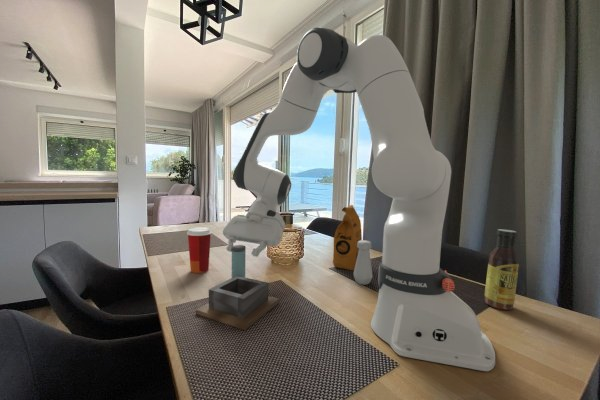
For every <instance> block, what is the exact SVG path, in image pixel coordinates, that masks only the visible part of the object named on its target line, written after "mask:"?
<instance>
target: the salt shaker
mask: <svg viewBox="0 0 600 400" xmlns="http://www.w3.org/2000/svg"><path fill="white" fill-rule="evenodd" d="M357 248H359V252H358V256H357V261H356V265H355V269H354V270H353V278H354V280H355V282H356V284H359V285H363V286H364V285H365V286H366V285H369V284H370V283H371V281H372V279H373V269H372V268H373V267H372V261H371V260H372V259H371V253H370V250H371V249H372V242H371V241H370V240H365V239H362V240H360V241H358V243H357Z"/></svg>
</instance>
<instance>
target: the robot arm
mask: <svg viewBox="0 0 600 400" xmlns="http://www.w3.org/2000/svg"><path fill="white" fill-rule="evenodd" d="M331 90H332V91H333V92H334V93H336V94H352V93H353V94H354V93H356V94H357V96H358V101H359V103H360V105H361V108H362V111H363V115H364V117H365V120H366V123H367V125H368V130H369V135H370V139H371V140H370V141H371V148H372V155H373V161H372V166H371V177H372V181H373V183H374V185H375V187H376V188H377V190H379V191H380V192H381V193H382V194H384V195H385V196H387V197H389V198H392V201H391V205H390V210H389V213H388V216H387V219H386V221H385V222H384V226H383V234H382V235H383V237H382V256H381V257H382V258H381V260H380V262H379V267H378V275H377V277H378V280H377V281H378V282H377V283H378V289H379V290H378V297H377V301H376V305H375V309H374V313H373V316H372V317H371V320H370V327H371V329H372V330H373V332H374V333H375V335H377V336H378V337H379V338H380V339H381V340H382V341H384V342H385V343H387V344H388V345H389V346H390V347H391V349H392V350H393V351H394V352H395V353H396V354H397V355H399V356H401V357H404V358H410V359H416V360H422V361H426V362H433V363H438V364H444V365H449V366H453V367H459V368H465V369H471V370H476V371H483V372H489V371H492V370H493V369H494V367H496V353H495V349H494V346H493V344H492V342H491V340H490V339H489V338H488V336H487V334H485V333H484V332H483V331H482V329H481V325H480V321H479V319H478V317H477V315H476V313H475V311H474V310H473V309H472V308H471V307H470V306H469V304H467V303H466V302H464V300H462V299H461V298H460V297H459V296H458V295H456V293H454V292H453V291H454V290H455V288H456V287H455V286H456V285H455V282H454V280H452V278H451V276H450V274H448V272H447V270H446V269H445V270H443V269H442V268H441V267H440V263H441V250H442V249H441V248H442V236H443V228H444V221H445V218H446V217H445V216H446V211H447V207H448V200H449V194H450V185H451V178H452V166H451V162H450V161H449V159H448V158H447V156H445V155H444V153H442V152H441V151H439V150H436V148H435V147H434V145H433V143H432V140H431V136H430V132H429V129H428V126H427V125H428V124H427V122H426V118H425V117H426V116H425V111H424V107H423V104H422V100H421V98H420V95H419V93H418V91H417V89H416V86H415V82H414V81H413V78H412V76H411V73H410V70H409V68H408V66H407V64H406V62H405V60H404V57H403V56H402V55H401V53H400V51H399V49H398V48H397V46H396V45H395V44H394V41H392V40H391V38H389V37H388V36H386V35H379V34H377V35H372V36H369V37H367V38H365V39H364V40H362V41H361V42H360V43H358V44H356V43H354V42H353V41H352V40H351V39H350V38H347V37H345V36H343V35H342V34H339V33H338V32H337V31H336V30H333V29H331V28H326V27H322V26H319V27H314V28H311V29H309V30H307V32H306V33H305V34H304V35H303V37H302V38H301V39H300V42H299V44H298V47H297V52H296V63H295V64H294V65H293V67H292V69H291V70H290V73H289V75H288V76H287V79H286V80H285V83H284V85H283V89H282V91H281V95H280V98H279V100H278V102H277V104H276V106H275V107H274V108H273V109H272V110H271V111H266V112H265V113H264V114H263V115H262V116H261V118H260V119H259V121H258V123H257V125H256V127H255V129H254V130H253V133H252V134H251V136H250V139H249V141H248V143H247V146H246V148H245V150H244V151H243V153H242V156H241V158H240V159H239V161H238V163H237V165H236V166H235V167H234V170H233V172H232V173H233V174H232V179H233V181H234V183H235V185H236V187H237V188H239V189H242V190H245V191H249V192H252V193H253V194H257V197H256V199H255V200H254V201H253V202H252V203H251V206H250V207H249V209H248V211H247V212H246V214H237V215H235V216H233V217H232V218H231V219H230V220H229V222H228V223H227V224H226V225H225V227H224V228H223V229H222V235H223V236H224V237H225V238H226V239H228V240H227V242H228V245H227V247H226V251H228V252H231V253H232V246H234V244H235V243H236V242H237V241H238V242H243V243H251V244H256V245H258V246H257V247H256V248H253V249H252V251H251V255H252V256H253V257H257V258H258V257H259V255H260V253H261V252H262V251H264V250H265V249H266V247H267V246H270V247H274V248H275V247H277V246H279V244H280V243H281V240H282V238H283V236H284V229H285V228H286V222H285V220H284V219H283V217H282V215H281V214H280V212H278V209H279V208H280V207H281V205H282V204H284V203H285V202H286V200H287V198H288V195H289V194H290V191H291V189H292V182H291V179H290V176H289V175H288V174H287V173H285V172H283V171H282V170H279V169H276V168H274V167H271V166H269V165H266V164H264V163H261V162H260V161H259V160H258V157H259V155H260V153H261V151H262V149H263V147H264V146H265V144H266V142H267V139H268V138H269V137H273V136H296V135H300V134H303V133H306V132H307V131H308V130H309V129H310V128H311V126H312V125H313V123H314V121H315V119H316V116H317V114H318V111H319V108H320V106H321V102H322V100H323V98H324V96H325V94H326V93H328V92H329V91H331Z"/></svg>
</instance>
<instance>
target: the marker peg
mask: <svg viewBox="0 0 600 400" xmlns="http://www.w3.org/2000/svg"><path fill="white" fill-rule="evenodd" d="M246 250H247V249H246V246H245V245H243V244H238V245H237V244H236V245H233V246H232V252H231V278H233V277H235V276H241V277H245V278H246Z"/></svg>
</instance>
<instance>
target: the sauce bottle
mask: <svg viewBox="0 0 600 400" xmlns="http://www.w3.org/2000/svg"><path fill="white" fill-rule="evenodd" d="M496 230H497V231H496V235H497V237H496V244H495V247H494V249H493V250H492V251H491V252H490V254H489V259H488V264H487V270H486V280H485V288H484V303H485V304H486V305H488V306H489V307H491V308H495V309H498V310H502V311H503V310H504V311H509V310H513V308H514V305H515V301H516V292H517V285H518V277H519V270H520V264H519V260H518V257H517V252H516V239H517V237H518V232H517V231H516V230H511V229H505V228H503V229H501V228H499V229H498V228H497V229H496Z"/></svg>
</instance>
